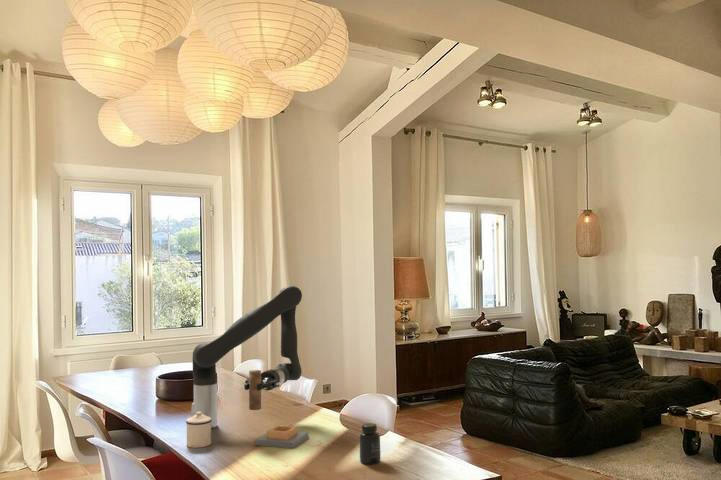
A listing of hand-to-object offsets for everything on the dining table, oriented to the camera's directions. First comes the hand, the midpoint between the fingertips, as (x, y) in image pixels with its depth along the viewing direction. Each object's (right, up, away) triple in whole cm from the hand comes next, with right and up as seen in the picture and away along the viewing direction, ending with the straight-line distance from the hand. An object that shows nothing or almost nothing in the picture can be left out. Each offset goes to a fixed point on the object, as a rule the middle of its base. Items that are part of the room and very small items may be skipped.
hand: (251, 387), depth 228 cm
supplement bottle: (+43, -18, -26) cm, 54 cm away
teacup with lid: (-20, -20, -3) cm, 28 cm away
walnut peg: (+1, -8, +2) cm, 9 cm away
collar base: (+11, -20, -1) cm, 23 cm away
